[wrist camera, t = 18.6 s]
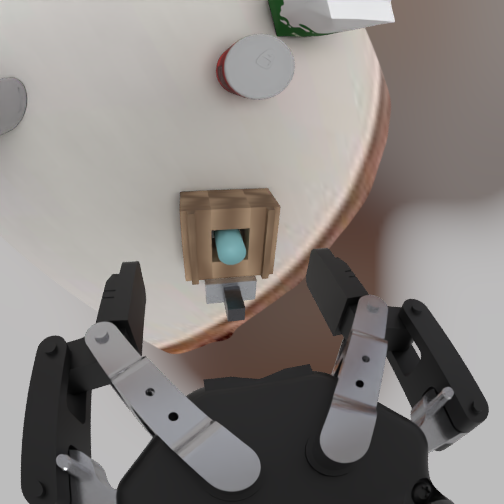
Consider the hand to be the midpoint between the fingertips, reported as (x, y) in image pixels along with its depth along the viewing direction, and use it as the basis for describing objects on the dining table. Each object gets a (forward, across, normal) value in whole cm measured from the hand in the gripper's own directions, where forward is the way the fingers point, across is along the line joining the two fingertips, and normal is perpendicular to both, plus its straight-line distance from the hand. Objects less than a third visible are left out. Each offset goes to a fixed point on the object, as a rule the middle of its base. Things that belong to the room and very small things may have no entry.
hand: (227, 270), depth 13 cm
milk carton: (+32, -13, -20) cm, 40 cm away
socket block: (+32, -4, +15) cm, 36 cm away
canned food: (+32, -6, -10) cm, 34 cm away
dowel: (+32, -4, +15) cm, 36 cm away
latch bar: (+25, -4, +23) cm, 34 cm away
